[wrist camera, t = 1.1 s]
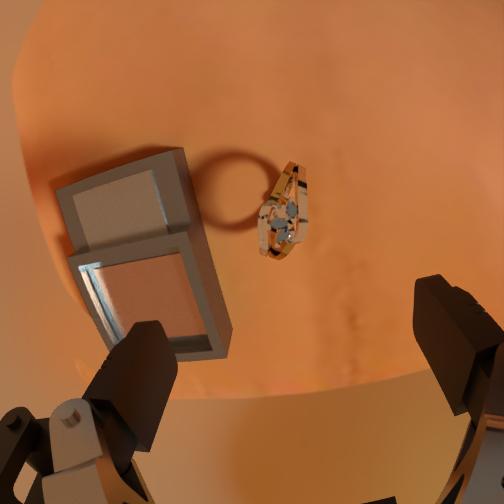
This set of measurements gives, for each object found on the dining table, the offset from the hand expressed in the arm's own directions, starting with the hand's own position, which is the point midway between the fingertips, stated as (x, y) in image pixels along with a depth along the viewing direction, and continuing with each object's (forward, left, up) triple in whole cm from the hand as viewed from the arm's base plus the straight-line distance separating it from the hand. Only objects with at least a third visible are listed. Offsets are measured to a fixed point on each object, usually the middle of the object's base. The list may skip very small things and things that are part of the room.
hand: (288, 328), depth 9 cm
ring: (0, 0, -18) cm, 18 cm away
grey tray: (+3, -13, -18) cm, 22 cm away
